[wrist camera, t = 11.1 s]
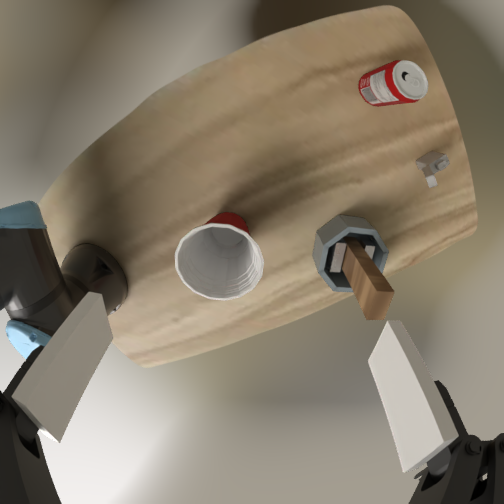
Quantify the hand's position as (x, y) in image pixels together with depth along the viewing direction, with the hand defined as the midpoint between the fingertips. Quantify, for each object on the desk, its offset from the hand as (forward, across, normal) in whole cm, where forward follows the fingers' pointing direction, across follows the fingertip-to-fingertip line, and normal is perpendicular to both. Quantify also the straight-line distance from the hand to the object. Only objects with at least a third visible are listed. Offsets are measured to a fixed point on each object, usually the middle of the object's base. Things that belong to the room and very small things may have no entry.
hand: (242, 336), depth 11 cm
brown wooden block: (+30, +16, -8) cm, 35 cm away
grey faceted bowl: (+31, +16, -8) cm, 36 cm away
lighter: (+31, +26, +8) cm, 42 cm away
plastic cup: (+31, -3, -7) cm, 33 cm away
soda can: (+31, +16, +18) cm, 40 cm away
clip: (+31, +16, -8) cm, 36 cm away
